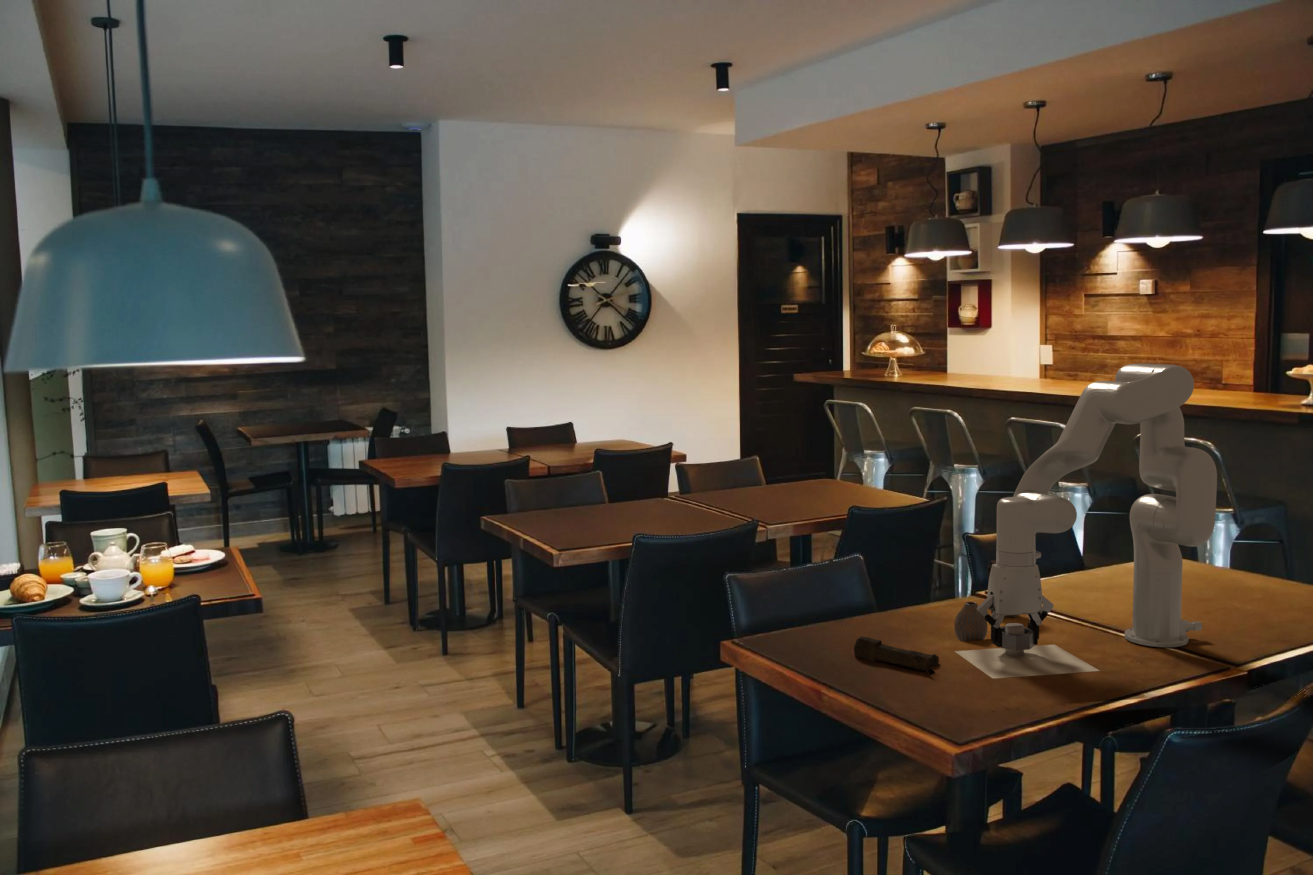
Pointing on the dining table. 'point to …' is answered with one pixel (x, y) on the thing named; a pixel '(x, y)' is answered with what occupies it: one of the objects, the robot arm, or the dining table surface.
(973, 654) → the board
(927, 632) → the dining table surface
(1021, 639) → the ring
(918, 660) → the hand tool
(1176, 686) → the dining table surface
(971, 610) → the vase
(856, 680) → the dining table surface
